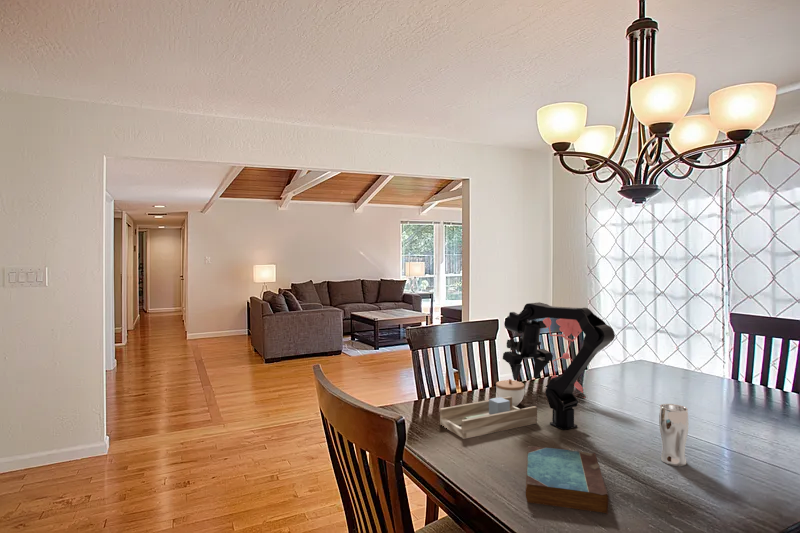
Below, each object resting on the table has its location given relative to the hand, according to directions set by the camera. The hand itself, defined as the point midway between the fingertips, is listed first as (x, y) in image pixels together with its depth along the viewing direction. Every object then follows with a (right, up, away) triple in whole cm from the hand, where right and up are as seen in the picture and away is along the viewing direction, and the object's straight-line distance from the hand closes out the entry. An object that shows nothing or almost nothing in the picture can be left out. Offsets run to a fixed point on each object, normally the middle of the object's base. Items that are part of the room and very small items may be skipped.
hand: (525, 379), depth 169 cm
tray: (-15, -13, -10) cm, 22 cm away
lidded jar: (-3, -13, +12) cm, 18 cm away
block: (-11, -10, -8) cm, 17 cm away
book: (-5, -14, -53) cm, 55 cm away
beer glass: (+30, -13, -40) cm, 52 cm away
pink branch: (+27, -12, +30) cm, 43 cm away
